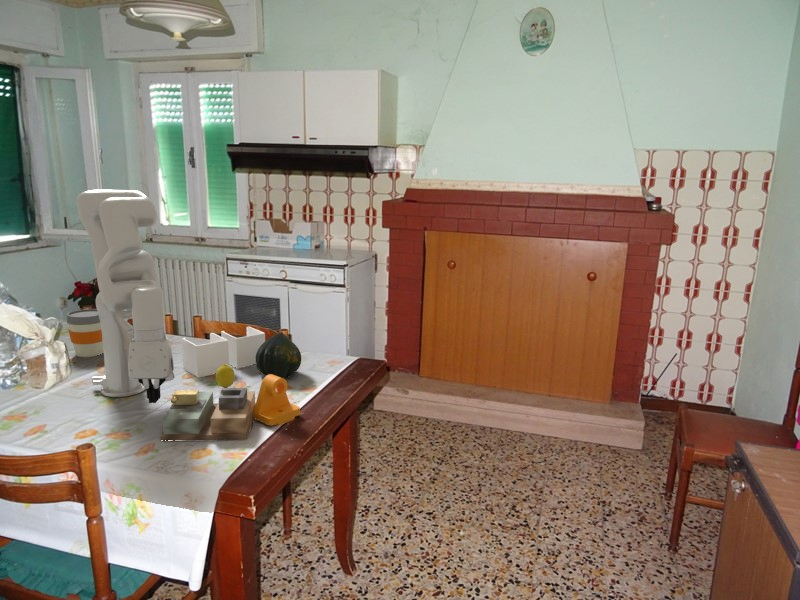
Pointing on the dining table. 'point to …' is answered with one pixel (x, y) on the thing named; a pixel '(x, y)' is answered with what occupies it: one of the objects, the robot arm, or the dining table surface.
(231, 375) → the lemon
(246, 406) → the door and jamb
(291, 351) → the squash
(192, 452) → the dining table surface
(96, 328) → the reusable coffee cup
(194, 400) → the brass bolt
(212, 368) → the storage container
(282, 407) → the bracket
